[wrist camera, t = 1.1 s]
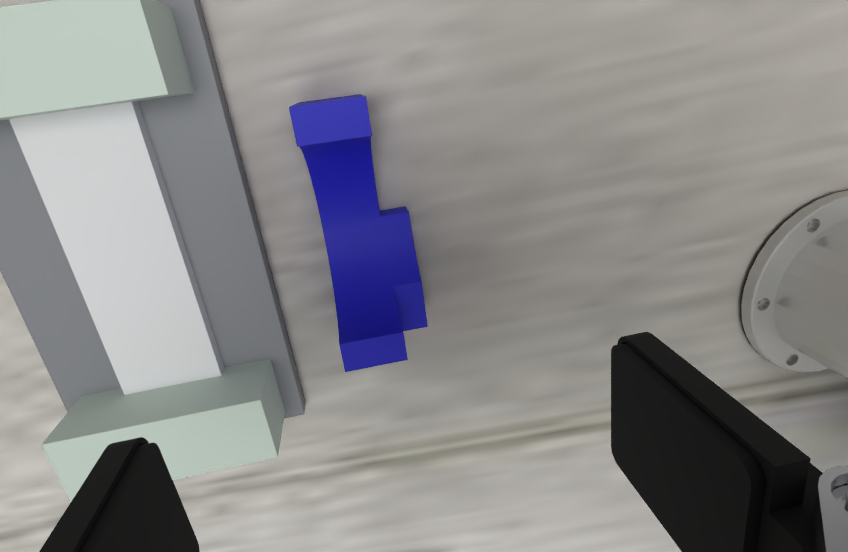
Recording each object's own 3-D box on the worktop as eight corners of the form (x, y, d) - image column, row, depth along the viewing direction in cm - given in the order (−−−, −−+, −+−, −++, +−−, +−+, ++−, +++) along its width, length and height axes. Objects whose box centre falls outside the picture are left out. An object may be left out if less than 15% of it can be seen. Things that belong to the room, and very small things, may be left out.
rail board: (197, -5, 23) (161, -29, 18) (305, 402, 31) (299, 460, 26) (-92, 30, 22) (-215, 14, 17) (99, 445, 30) (53, 514, 25)
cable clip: (419, 304, 30) (438, 353, 24) (343, 318, 30) (345, 371, 24) (388, 90, 26) (403, 91, 20) (299, 102, 25) (289, 107, 20)
